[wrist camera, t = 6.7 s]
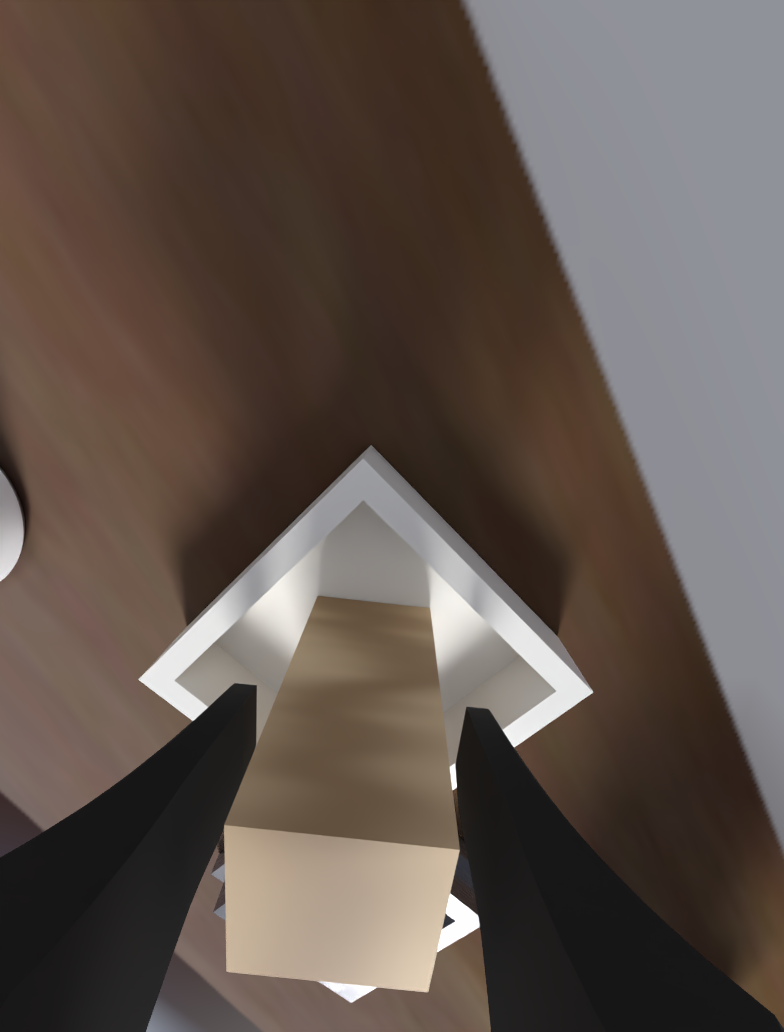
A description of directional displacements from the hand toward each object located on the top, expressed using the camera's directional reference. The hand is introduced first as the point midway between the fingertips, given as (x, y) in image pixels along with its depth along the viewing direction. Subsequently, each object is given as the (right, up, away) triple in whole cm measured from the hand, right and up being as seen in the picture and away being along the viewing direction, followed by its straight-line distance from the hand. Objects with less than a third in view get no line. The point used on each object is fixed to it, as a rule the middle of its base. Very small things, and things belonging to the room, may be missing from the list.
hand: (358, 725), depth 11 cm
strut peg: (0, +1, +4) cm, 4 cm away
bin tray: (0, +1, +4) cm, 5 cm away
